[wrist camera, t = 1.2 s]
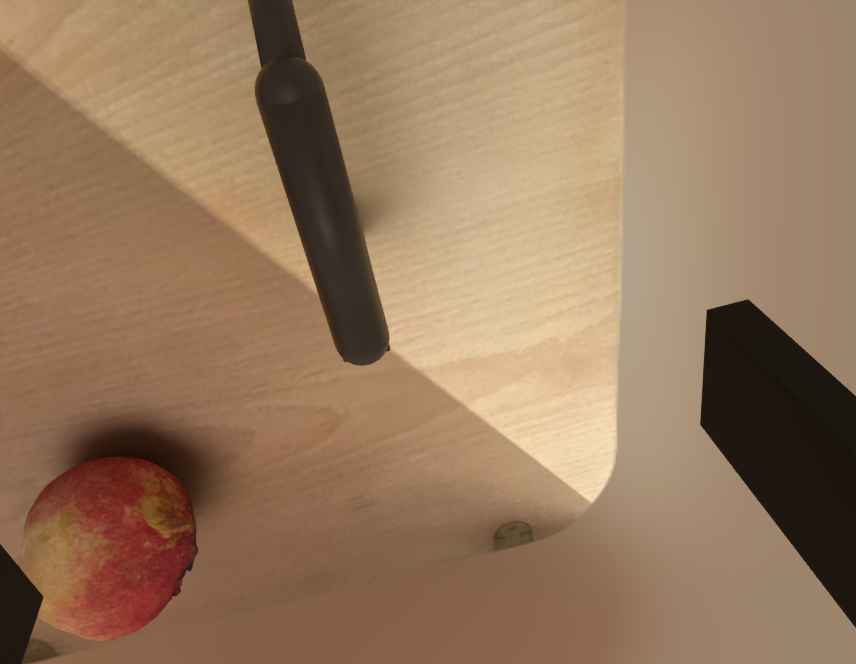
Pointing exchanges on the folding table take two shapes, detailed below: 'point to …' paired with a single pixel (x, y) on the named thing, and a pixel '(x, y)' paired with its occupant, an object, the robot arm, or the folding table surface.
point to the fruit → (108, 546)
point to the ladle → (317, 183)
